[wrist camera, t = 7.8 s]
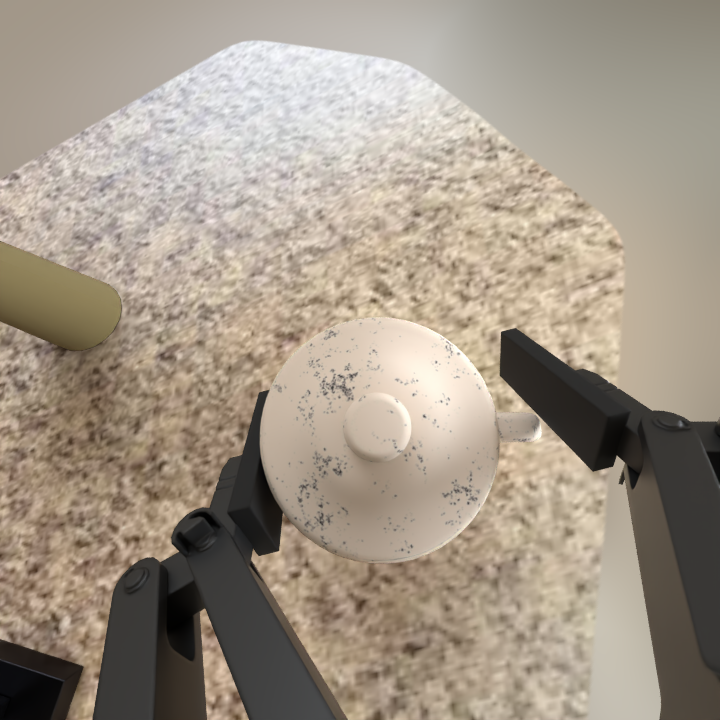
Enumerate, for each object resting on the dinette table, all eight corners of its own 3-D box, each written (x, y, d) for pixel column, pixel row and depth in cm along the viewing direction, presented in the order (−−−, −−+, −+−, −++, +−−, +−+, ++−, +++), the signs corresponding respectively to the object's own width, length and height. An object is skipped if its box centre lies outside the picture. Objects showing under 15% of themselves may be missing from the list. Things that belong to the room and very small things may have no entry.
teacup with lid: (306, 508, 19) (202, 614, 8) (309, 366, 21) (232, 286, 10) (503, 506, 18) (703, 618, 7) (485, 360, 21) (615, 269, 9)
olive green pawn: (37, 344, 24) (-232, 273, 14) (66, 276, 26) (-156, 163, 15) (105, 356, 24) (-121, 290, 13) (132, 285, 25) (-53, 174, 14)
